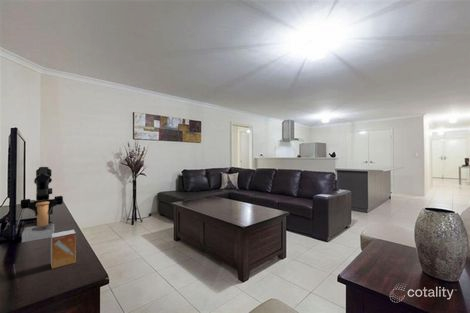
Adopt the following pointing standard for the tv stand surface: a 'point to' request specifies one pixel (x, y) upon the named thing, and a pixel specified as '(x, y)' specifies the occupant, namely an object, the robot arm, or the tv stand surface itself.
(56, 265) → the small box
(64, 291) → the tv stand surface
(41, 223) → the plug
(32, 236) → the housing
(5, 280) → the tv stand surface
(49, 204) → the robot arm
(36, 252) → the tv stand surface
